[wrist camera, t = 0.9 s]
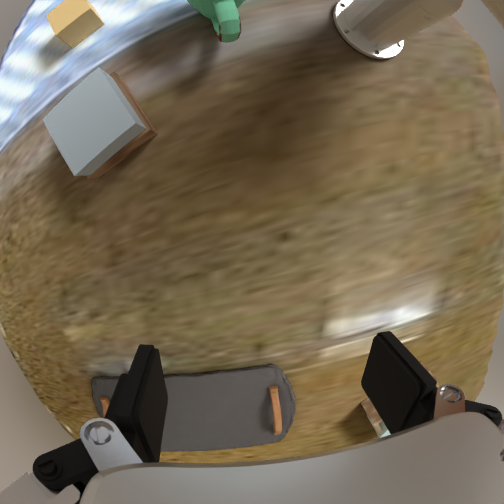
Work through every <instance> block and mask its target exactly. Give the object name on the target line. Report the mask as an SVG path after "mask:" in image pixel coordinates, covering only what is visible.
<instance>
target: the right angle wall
mask: <svg viewBox="0 0 504 504" xmlns="http://www.w3.org/2000/svg"><path fill="white" fill-rule="evenodd" d="M367 417H368V415H367ZM368 419H369V421H370V422H371V420H370V418H369V417H368ZM371 424H372V422H371ZM372 426H373V428H374V429H375V427H374V425H373V424H372ZM379 426H380V428H381V430H382V431H383V432H382V433H381V434H380V435H379V434H378V432H377V431H376V429H375V431H376V433H377V435H378V436H379V438H381V437H384V436H388V435H391V434H390V432H389V431H388V429H387V427H386V426H385V424H384V422H383V421H382V422H380V423H379Z"/></svg>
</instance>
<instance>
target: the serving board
mask: <svg viewBox="0 0 504 504" xmlns="http://www.w3.org/2000/svg"><path fill="white" fill-rule="evenodd" d="M119 378H120V377H104V376H99V377H93V378H92V392H93V393H92V395H93V399H94V402H95V405H96V408H97V411H98V413H99V415H100V416H101V418H104V417H105V414H106V412H107V409H108V406H109V403H110V401H111V398H112V395H113V393H114V390H115V388H116V385H117V383H118V380H119ZM164 380H165V384H166V389H167V393H168V405H167V411H166V417H165V423H164V430H163V437H162V444H161V451H171V452H175V451H207V450H221V449H231V448H242V447H250V446H257V445H264V444H270V443H275V442H279V441H280V440H282V439H283V438H284V437H285V436H286V434H287V432H288V430H289V428H290V427H291V425H292V423H293V417H294V414H295V410H296V402H295V396H294V394H293V392H292V386H291V384H290V382H289V381H288V380H287V378H286V376H285V375H284V374H283V371H282V370H281V369H280V368H279V367H278V366H277V365H274V364H267V365H262V366H256V367H248V368H241V369H233V370H218V371H212V372H207V373H201V374H172V375H164Z"/></svg>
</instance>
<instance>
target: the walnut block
mask: <svg viewBox="0 0 504 504" xmlns="http://www.w3.org/2000/svg"><path fill="white" fill-rule="evenodd" d="M110 76H111V77H112V78H113V79H114V81H115V82H116V84H117V85H118V87H119V88H120V90H121V91H122V93H123V95H124V96H125V98H126V99H127V101H128V102H129V103H130V105H131V106H132V108H133V109H134V111H135V112H136V114H137V115H138V117H139V118H140V120H141V121H142V123H143V124H144V126H145V127H146V129H145V130H144V131H143V132H141V133H140V134H139V135H137V136H136V137H135V138H134V139H132V140H131V141H130V142H129V143H127V144H126V145H125V146H124V147H122V148H121V149H120V150H119V151H118V152H116V153H115V154H114V155H113V156H112V157H110V158H109V159H108V160H107V161H106V162H105V163H104V164H102V165H101V166H100V167H99V168H98V169H97V170H96V171H95V172H94V173H92V174H91V175H86V177H87V179H95V178H101V177H102V176H103V175H105V174H106V173H107V172H108V171H109V170H111V169H112V168H113V167H114V166H115V165H117V164H118V163H119V162H120V161H122V160H123V159H124V158H126V157H127V156H128V155H129V154H131V153H132V152H133V151H135V150H136V149H137V148H139V147H140V146H141V145H143V144H144V143H145V142H147V141H148V140H150V139H151V138H152V137H154V136H155V135H157V134H158V133H157V132H156V130H155V129H154V127H153V126H152V124H151V123H150V121H149V119H148V118H147V116H146V115H145V113H144V112H143V110H142V108H141V107H140V105H139V104H138V102H137V101H136V99H135V97H134V96H133V94H132V93H131V91H130V90H129V88H128V86H127V85H126V83H125V82H124V80H123V79H121V78H120V77H119V76H118V75H117V74H116V73H115V72H113V73H112V74H110Z"/></svg>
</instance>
